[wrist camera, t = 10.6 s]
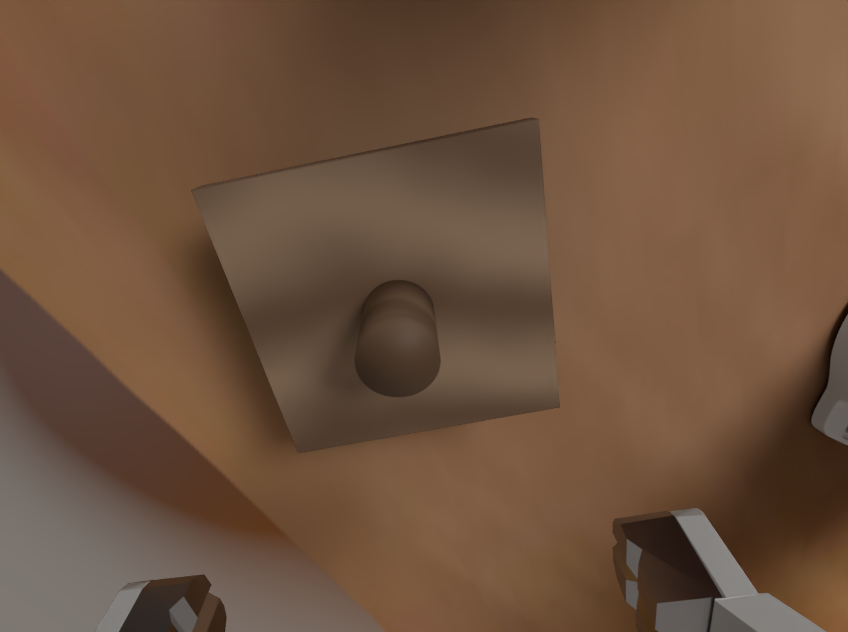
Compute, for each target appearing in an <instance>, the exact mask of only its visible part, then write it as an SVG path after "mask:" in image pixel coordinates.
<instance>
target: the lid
mask: <svg viewBox="0 0 848 632" xmlns="http://www.w3.org/2000/svg"><path fill="white" fill-rule="evenodd" d="M191 191H192V193H193V196H194V198H195V201H196V203H197V206H198V208H199V211H200V213H201V216H202V218H203V221H204V223H205V225H206V228H207V230H208V233H209V235H210V238H211V240H212V243H213V245H214V248H215V250H216V252H217V255H218V257H219V260H220V262H221V265H222V267H223V270H224V272H225V275H226V277H227V280H228V282H229V284H230V287H231V289H232V292H233V294H234V297H235V299H236V302H237V304H238V307H239V309H240V312H241V314H242V316H243V319H244V321H245V324H246V326H247V329H248V331H249V334H250V336H251V339H252V341H253V344H254V346H255V348H256V351H257V353H258V356H259V358H260V361H261V363H262V366H263V368H264V371H265V373H266V376H267V378H268V380H269V383H270V385H271V388H272V390H273V393H274V395H275V398H276V400H277V403H278V405H279V407H280V410H281V412H282V415H283V417H284V420H285V422H286V425H287V427H288V430H289V432H290V435H291V437H292V439H293V442H294V444H295V447H296V449H297V452H298V453H302V452H307V451H313V450H319V449H325V448H330V447H336V446H342V445H347V444H353V443H359V442H365V441H370V440H376V439H382V438H387V437H393V436H399V435H405V434H410V433H416V432H422V431H428V430H433V429H439V428H445V427H450V426H456V425H462V424H468V423H473V422H479V421H485V420H490V419H496V418H502V417H508V416H513V415H519V414H525V413H530V412H536V411H542V410H548V409H553V408H559V407H560V402H559V389H558V375H557V361H556V348H555V334H554V321H553V307H552V294H551V280H550V266H549V253H548V239H547V226H546V212H545V198H544V185H543V171H542V158H541V144H540V131H539V119H537V118H527V119H522V120H517V121H512V122H508V123H503V124H498V125H493V126H488V127H483V128H479V129H474V130H469V131H464V132H459V133H454V134H449V135H445V136H440V137H435V138H430V139H425V140H420V141H416V142H411V143H406V144H401V145H396V146H391V147H386V148H382V149H377V150H372V151H367V152H362V153H357V154H353V155H348V156H343V157H338V158H333V159H328V160H323V161H319V162H314V163H309V164H304V165H299V166H294V167H290V168H285V169H280V170H275V171H270V172H265V173H260V174H256V175H251V176H246V177H241V178H236V179H231V180H227V181H222V182H217V183H212V184H207V185H202V186H200V187H198V188H196V189H193V190H191Z"/></svg>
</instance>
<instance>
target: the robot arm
mask: <svg viewBox="0 0 848 632" xmlns="http://www.w3.org/2000/svg"><path fill="white" fill-rule="evenodd" d="M811 422H812V425H813V426H814V427H815V428H816V429H818V430H819V431H821V432H822V433H824V434H825V435H827V436H828V437H830V438H832V439H835V440H837V441H839V442H841V443H843V444H845V445H847V446H848V315H847V316H846V318H845V320H844V322H843V324H842V326H841V328H840V330H839V332H838V334H837V337H836V340H835V343H834V346H833V350H832V354H831V360H830V373H829V381H828V385H827V388H826V390H825V392H824V393H823V395H822V397H821V399H820V401H819V402H818V404H817V406H816V408H815V410H814V413H813V415H812V420H811ZM613 534H614V536H615V538H616V541H617V544H616V545H615V546H614V547H613V561H614V566H615V571H616V575H617V579H618V582H619V585H620V588H621V590H622V593H623V595H624V598H625V601H626V602H627V603H628V604H629V605H631V606H632V607H633V608H634V609H635V610H636V628H637V630H638V632H826V631H825V630H823V629H822V628H820V627H819V626H817V625H816V624H814V623H813V622H811V621H810V620H808V619H807V618H805V617H804V616H802V615H800V614H799V613H797V612H796V611H794V610H793V609H791V608H790V607H788V606H787V605H785V604H784V603H782V602H781V601H779V600H778V599H776V598H775V597H773V596H772V595H770V594H769V593H758V592H757V591H756V589H755V588H754V586H753V585H752V583H751V582H750V580H749V579H748V578H747V576H746V575H745V573H744V572H743V570H742V569H741V567H740V566H739V564H738V563H737V561H736V560H735V558H734V557H733V556H732V554H731V553H730V551H729V550H728V548H727V547H726V545H725V544H724V542H723V541H722V539H721V538H720V536H719V535H718V533H717V532H716V531H715V529H714V528H713V526H712V525H711V523H710V522H709V520H708V519H707V517H706V516H705V514H704V513H703V512H702V511H701V510H699V509H698V508H689V509H683V510H676V511H669V512H667V511H663V512H656V513H649V514H643V515H636V516H629V517H623V518H616V519H614V521H613ZM210 587H211V584H210V582H209V581H208V579H207V578H206V576H205V575H196V576H186V577H179V578H178V577H177V578H169V579H159V580H150V581H141V582H134V583H128V584H127V585H126V586H124V587H123V588H122V589H121V590H120V591H119V592H118V594H117V595H116V597H115V599H114V600H113V602H112V604H111V605H110V607H109V609H108V610H107V612H106V614H105V615H104V617H103V619H102V620H101V622H100V624H99V625H98V627H97V629H96V630H95V632H225V627H226V612H225V608H224V605H223V603H222V601H221V600H220V598H218V597H216V596H214V595H212V594H210V593H209V589H210Z"/></svg>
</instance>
